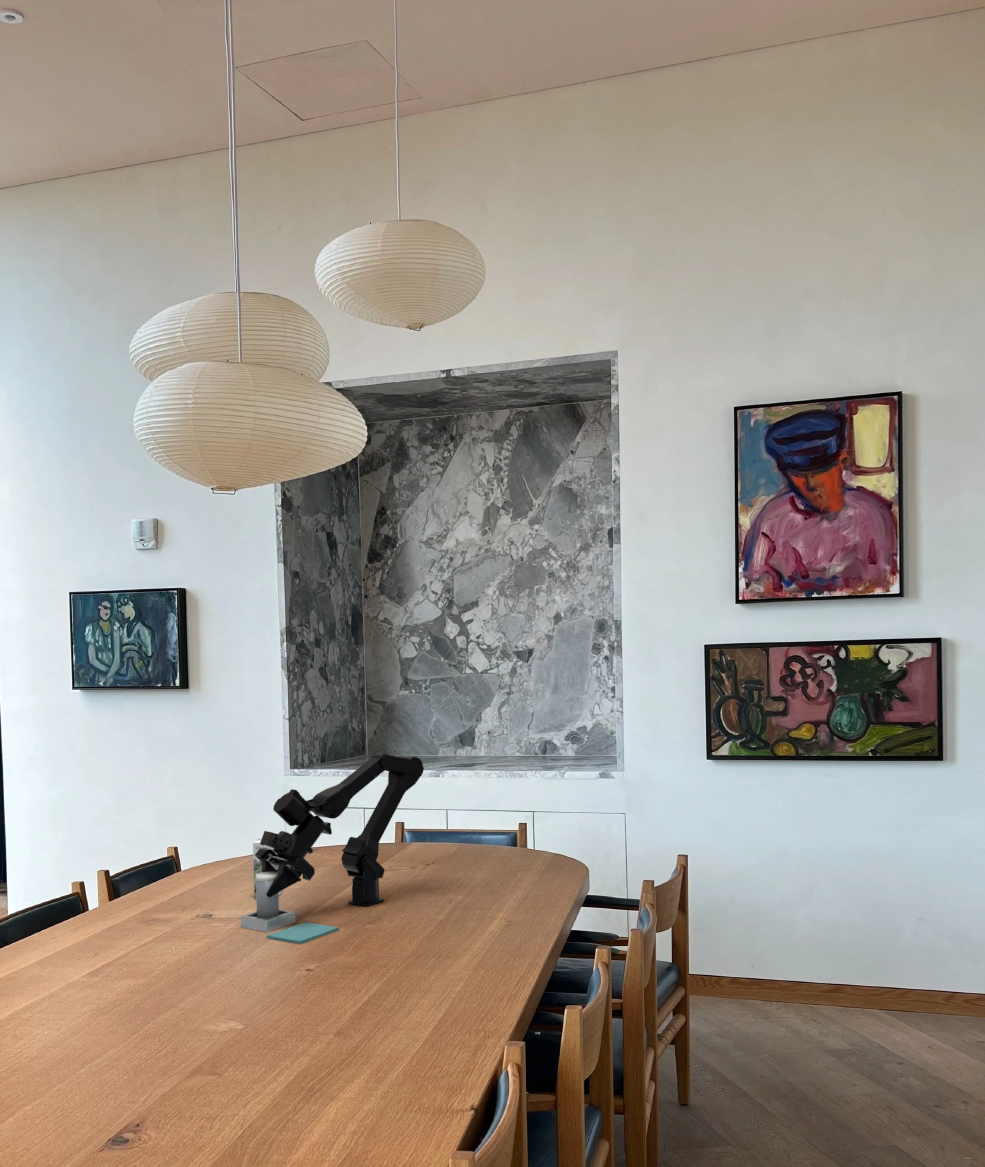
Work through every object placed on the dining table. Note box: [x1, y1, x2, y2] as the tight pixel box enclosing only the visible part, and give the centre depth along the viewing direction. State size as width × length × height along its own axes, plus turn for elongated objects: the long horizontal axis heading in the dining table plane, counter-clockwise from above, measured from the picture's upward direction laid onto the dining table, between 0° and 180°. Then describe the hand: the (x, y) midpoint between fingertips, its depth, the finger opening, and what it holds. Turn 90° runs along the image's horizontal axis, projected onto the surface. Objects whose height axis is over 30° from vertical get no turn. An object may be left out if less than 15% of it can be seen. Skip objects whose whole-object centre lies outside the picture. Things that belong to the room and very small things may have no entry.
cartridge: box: [255, 872, 280, 919], centre depth 228 cm, size 5×5×12 cm
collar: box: [240, 908, 296, 933], centre depth 227 cm, size 9×9×2 cm
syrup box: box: [252, 838, 283, 900], centre depth 256 cm, size 6×6×14 cm
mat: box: [266, 921, 340, 945], centre depth 218 cm, size 12×10×1 cm
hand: (261, 894), depth 227 cm, fingers closed on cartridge, 5 cm apart
